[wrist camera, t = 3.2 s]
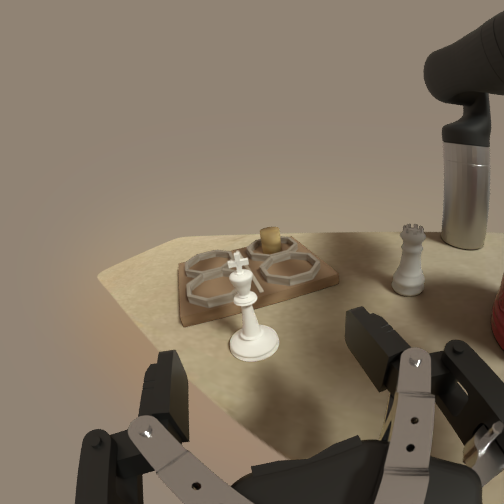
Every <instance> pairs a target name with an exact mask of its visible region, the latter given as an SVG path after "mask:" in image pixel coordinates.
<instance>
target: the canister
mask: <svg viewBox="0 0 504 504" xmlns="http://www.w3.org/2000/svg"><path fill="white" fill-rule="evenodd" d="M491 327H492V331H493V334H494V336H495V338H496V340H497V342H498V343H499V345H500V346H501V347H502V349H503V350H504V274H503V278H502V281H501V285H500V288H499V291H498V293H497V295H496V297H495V301H494V304H493V308H492V316H491Z"/></svg>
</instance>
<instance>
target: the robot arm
mask: <svg viewBox="0 0 504 504" xmlns="http://www.w3.org/2000/svg"><path fill="white" fill-rule="evenodd" d="M424 80H425V84H426V86H427V88H428V90H429V92H430V93H431V94H432V96H434V97H435V98H436V99H438V100H439V101H442V102H444V103H449V104H456V105H463V109H464V110H463V111H464V112H463V116H462V118H460V119H459V120H458V121H456V122H453V123H451V124H447V125H445V126H443V128H442V139H443V141H444V142H443V157H444V203H443V220H442V233H441V237H442V239H443V240H444V241H445V242H446V243H448V244H450V245H452V246H455V247H458V248H463V249H479V248H481V247H483V245H484V240H485V236H486V229H487V220H488V210H489V197H490V148H489V147H490V142H489V140H490V132H491V116H490V105H489V94H488V93H490V94H497V95H504V11H503V12H501V13H499V14H497V15H496V16H494V17H493V18H491V19H489V20H488V21H486V22H485V23H484V24H483V25H481V26H480V27H479V28H477V29H476V30H474V31H473V32H471V33H469V34H467V35H466V36H464V37H463V38H462V39H460V40H458V41H457V42H455V43H453V44H451V45H449V46H447V47H444V48H442V49H439V50H437V51H434V52H433V53H431V54H430V55H429V57H428V58H427V60H426V62H425V65H424ZM345 341H346V344H347V346H348V348H349V349H350V351H351V352H352V354H353V355H354V356H355V358H356V359H357V361H358V362H359V364H360V365H361V366H362V368H363V369H364V371H365V372H366V374H367V375H368V377H369V378H370V380H371V381H372V382H373V384H374V385H375V387H376V388H377V390H378V391H379V393H380V392H382V391H384V390H386V389H388V391H389V392H390V394H389V397H388V403H387V408H386V413H385V418H384V423H383V427H382V431H381V434H380V437H379V440H360V438H359V436H358V435H357V436H354V437H352V438H349V439H347V440H344V441H341V442H339V443H336V444H333V445H332V446H330V447H328V448H327V449H325V450H323V451H322V452H320V453H318V454H317V455H315V456H313V457H311V458H309V459H302V460H284V461H275V462H271V463H266V464H261V465H256V466H251V469H252V473H250V474H247V475H246V476H244V477H242V478H240V479H239V480H237V481H236V482H235V483H234V484H233V485H232V486H229V485H228V484H227V483H225V482H224V481H223V480H222V479H220V478H219V477H218V476H217V475H216V474H214V473H213V472H212V471H211V470H210V469H209V468H207V467H206V466H205V465H204V464H203V463H201V461H200V460H198V459H197V458H196V457H195V456H194V455H193V454H192V453H191V452H189V451H187V450H186V449H185V448H184V447H183V446H182V442H189V411H188V379H187V375H186V372H185V370H184V367H183V365H182V363H181V361H180V358H179V356H178V354H177V352H176V350H170V351H163V352H159V355H158V361H157V364H151V365H150V366H149V368H148V369H147V371H146V373H145V377H144V383H143V390H142V395H141V402H140V408H139V415H138V418H136V419H134V420H133V421H132V422H131V423H130V425H129V428H128V429H127V430H125V431H122V432H119V433H115V434H112V435H109V434H108V433H107V432H106V431H104V430H101V429H96V430H92V431H90V432H89V433H87V434H86V436H85V437H84V439H83V442H82V448H81V455H80V461H79V468H78V477H77V486H76V498H75V504H143V484H142V483H143V482H142V474H145V473H148V472H152V471H155V470H156V474H157V475H158V476H159V478H160V479H161V480H162V481H163V482H164V483H165V484H166V485H167V486H168V488H169V489H170V490H171V491H172V492H173V493H174V494H175V495H176V496H177V497H178V498H179V499H180V500H181V501H182V502H183V503H184V504H482V487H483V486H484V485H485V484H487V483H488V482H489V481H490V480H491V479H492V478H494V477H495V476H496V475H498V474H499V473H500V472H502V471H503V470H504V383H503V382H502V380H501V379H500V378H499V377H498V376H497V375H496V374H495V373H494V372H493V370H492V369H491V368H490V367H489V366H488V365H487V364H486V363H485V362H484V361H483V360H482V359H481V358H480V357H479V355H478V354H477V353H476V352H475V351H474V350H473V349H472V348H471V347H470V346H469V345H468V344H467V343H465V342H463V341H461V340H451V341H449V342H448V343H447V344H446V346H445V348H444V351H440V352H435V353H429V354H428V352H426V351H425V350H423V349H421V348H411V347H410V346H409V345H408V344H407V342H406V341H405V340H404V339H403V338H402V337H401V336H400V335H399V334H398V333H397V332H396V331H395V330H393V328H392V327H391V326H390V325H389V324H388V323H387V322H386V321H385V320H384V319H383V318H382V317H380V316H378V315H376V314H374V313H372V314H369V313H368V312H367V311H366V309H365V308H364V307H362V306H361V307H357V308H354V309H351V310H348V311H347V312H346V323H345ZM458 381H459V383H460V384H461V385H462V386H463V387H464V389H465V390H466V391H467V393H468V395H467V394H466V393H465V392H464V390H463V389H462V388H461V387H460V385H459V384H458V383H457V382H458ZM435 402H436V404H437V405H438V407H439V408H440V410H441V411H442V413H443V414H444V415H445V417H446V418H447V420H448V421H449V423H450V424H451V426H452V427H453V429H454V430H455V432H456V433H457V435H458V437H459V438H460V440H461V441H462V443H463V444H464V449H463V463H464V464H466V465H462V464H457V463H453V462H449V461H446V460H442V459H438V458H435V457H431V456H430V453H431V446H432V437H433V426H434V412H435Z"/></svg>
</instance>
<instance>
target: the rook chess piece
mask: <svg viewBox="0 0 504 504" xmlns="http://www.w3.org/2000/svg"><path fill="white" fill-rule="evenodd" d="M423 230H424V229H423V227H422V226H419V229H418V225H417V224H414V228H411V224H407V228H406V226H405V225H404V226H403V231H402V232H401V233H400V236H401V238H402V239H403V244H402V246H401V248H402V257H401V261H400V265H399V267H398V268H397V271H396V272H395V273H394V275H393V281H392V287H393V289H394V290H395V291H396V293H398V294H400V295H403V296H409V297H412V296H416V295H418V294H419V293H421V292H422V291H423V289H424V282H425V278H424V275H423V271H422V269H421V252H422V250H423V247H422V242H423V241H424V240H425V238H426V235H425V234H424V231H423Z"/></svg>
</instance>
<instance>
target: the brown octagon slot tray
mask: <svg viewBox="0 0 504 504" xmlns="http://www.w3.org/2000/svg"><path fill="white" fill-rule="evenodd" d="M260 236H261V239H258V240H255V241H254V242H253V243H251V244H250V245H249V246H247V247H245V248H240V249H236V250H232V251H223V250H213V251H208V252H204V253H200V254H197V255H195V256H194V257H192V258H191V259H189V260H188V261H186V262H183V263H179V301H180V318H181V321H182V323H183V326H184V327H187V326H191V325H195V324H200V323H204V322H208V321H212V320H216V319H220V318H224V317H227V316H231V315H235V314H239V313H242V309H241V306H237V305H236V304H234V297H235V295H236V294H238V293H237V291H236V290H235V287H234V286H233V284H232V283H231V282H230V280H229V276H230V274H231V273H232V272H234V271H236V270H237V268H236V267H232V268H229V267H228V261H232V260H235V258H234V253H237V252H239V255H240V259H243V258H248V262H249V265H243V266H242V269H247V270H250V271H251V272H252V274H253V277H252V281H251V289H250V291H252V292H254V293H255V294H256V295H257V301H256V302H255V303H253V304H252V306H253V309H257V308H261V307H264V306H268V305H271V304H275V303H278V302H281V301H285V300H288V299H292V298H295V297H298V296H301V295H305V294H308V293H311V292H314V291H317V290H321V289H324V288H327V287H330V286H333V285H336V284H339V273H337V272H336V271H335V270H334V269H332V268H331V267H330V266H329V265H327V264H326V263H325V262H324V261H322V260H321V259H320V258H319V257H317V256H316V255H315V254H314V253H312V252H311V251H310V250H308V249H307V248H306V247H305V246H303V245H302V244H301V243H300V242H298V241H297V240H296V239H294V238H293V237H292V236H290V237H282V236H280V231H279V228H278V227H267V228H263V229H261V230H260Z"/></svg>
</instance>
